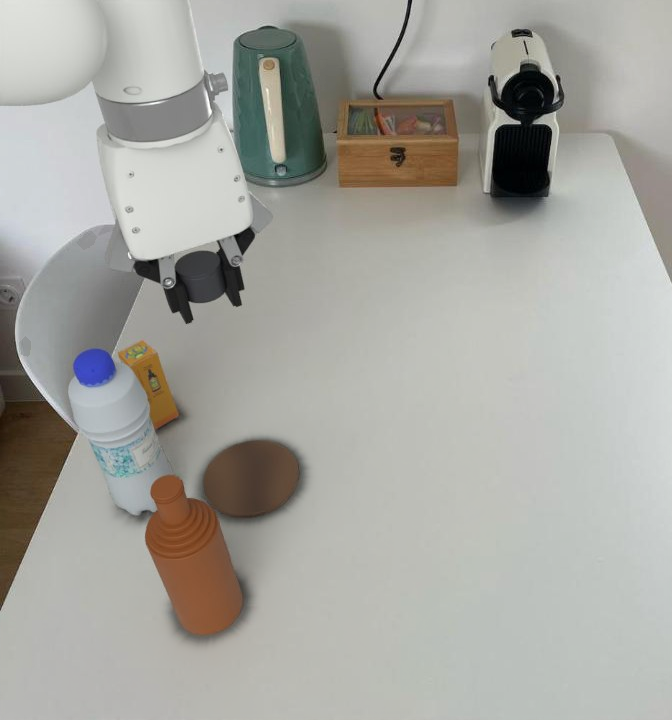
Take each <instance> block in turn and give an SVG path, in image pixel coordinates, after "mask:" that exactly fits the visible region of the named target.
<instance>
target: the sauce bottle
mask: <svg viewBox="0 0 672 720" xmlns="http://www.w3.org/2000/svg"><path fill="white" fill-rule="evenodd" d="M150 495H151V497H152V499H153V500H154V502H155V504H156V507H157V509H158V510H157V511H156V512H153V513H152V515H151V516H150V517H149V520H148V521H147V524H146V527H145V532H144V542H145V545H146V547H147V550H148V552H149V555H150V557H151V559H152V562H153V564H154V566H155V569H156V571H157V574H158V575H159V578H160V581H161V582H162V584H163V587H164V589H165V592H166V594H167V596H168V598H169V600H170V603H171V606H172V608H173V611H174V612H175V615H176V617H177V620H178V621H179V623H180V625H181V626H182V627H183V629H185V630H186V631H187V632H189V633H191V634H194V635H198V636H209V635H210V636H211V635H215V634H218V633H221V632H222V631H224V630H226V629H227V628H228V627H230V626H231V625H233V623H234V622H235V621H236V619H238V617H239V615H240V614H241V611H242V608H243V603H244V598H243V593H242V589H241V586H240V583H239V579H238V577H237V574H236V570H235V567H234V564H233V561H232V558H231V554H230V551H229V548H228V545H227V543H226V538H225V536H224V533H223V529H222V526H221V523H220V520H219V518H218V514H217V512H216V511H215V508H213V507H212V506H211V505H210V504H208V503H207V502H206V501H203V500H201V499H199V498H193V497H187V494H186V490H185V484H184V481H183V480H182V479H181V478H180V477H178V476H177V475H174V474H173V475H165V476H162V477H160V478H158V479H157V480H155V481H154V483H153V484H152V486H151V491H150Z"/></svg>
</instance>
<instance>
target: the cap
mask: <svg viewBox="0 0 672 720" xmlns="http://www.w3.org/2000/svg"><path fill="white" fill-rule="evenodd" d="M174 264H175V271H176V274H177V276H178V278H179V279H181V281H182V283H183V285H184V287H185V290H186V294H187V297H188V301H189V303H192V304H207V303H211V302H213V301H216V300H218V299H219V298H221V297H222V296H223V295H224V294H225V291H226V289H227V285H226V281H225V277H224V273H223V269H222V264H221V260H220V257H219V256H218V255H217V254H216V252H214V251H211V250H196V251H195V250H194V251H191V252H189V253H186V254H184V255H182V256H181V257H179V259H178V260H177V261H175V263H174Z"/></svg>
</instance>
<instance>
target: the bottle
mask: <svg viewBox="0 0 672 720" xmlns="http://www.w3.org/2000/svg"><path fill="white" fill-rule="evenodd" d="M72 365H73V366H72V367H73V369H72V370H73V373H74V376H73V377H72V378H71V380H70V382H69V385H68V388H67V395H68V398H69V403H70V407H71V411H72V417H73V420H74V422H75V423H76V424H75V425H77V426H78V430H79V431H80V433H81V434H82V435H83V436H84V437H85V438H87V440H88V442H89V444H90V447H91V449H92V450H93V453H94V456H95V458H96V460H97V462H98V464H99V467H100V469H101V470H102V474H103V476H104V480H105V483H106V486H107V489H108V491H109V494H110V496H111V498H112V500H113V502H114V504H115V505H116V506H117V507H118V508H120V509H123V510H125V511H127V512H128V513H129V514H130V515H132V516H136V517H137V516H138V517H139V516H140V515H142V513H143V512H144V511H150V512H152V513H155V512H156V511H157V510H158V509H157V507H156V504H155V502H154V500H153V499H152V497H151V495H150V491H151V486H152V484H153V483H154V481H155V480H157V479H158V478H160V477H162V476H165V475H174V474H173V470H172V468H171V465H170V463H169V461H168V459H167V457H166V455H165V453H164V451H163V449H162V446H161V444H160V443H161V442H160V441H159V438H158V435H157V433H156V430H155V429H154V427H153V424H152V421H151V419H150V416H149V413H150V405H149V402H148V400H147V394H146V392H145V390H144V389H143V387H142V386H141V384H140V382H139V380H138V379H137V377H136V375H135V373H134V372H133V370H132V369H131V368H130V367H129V366H127V365H126V364H124V363H121V361H115V360H114V359H113V357H112V355H111V354H110V353H109V352H108V351H107V350H105V349H102V348H89V349H86V350H83V351H82V352H80V353H79V354H78V355H77V356H76V357H75V359H74V361H73V364H72Z"/></svg>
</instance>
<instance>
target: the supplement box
mask: <svg viewBox="0 0 672 720" xmlns="http://www.w3.org/2000/svg"><path fill="white" fill-rule="evenodd" d="M117 356H118V358H119V362H121V363H124V364H126V365H127V366H129V367H130V368H131V369H132V370H133V372H134V373H135V375H136V377H137V379H138V380H139V382H140V384H141V386H142V387H143V389H144V390H145V392H146V394H147V400H148V402H149V405H150V413H149V416H150V419H151V421H152V424H153V427H154V430H155V431H156V430H157V429H160V428H161V427H162V426H164V425H166V424H167V423H169V422H171V421H173V420H175V419H177V418H179V416H180V413H179V411H178V408H177V406H176V403H175V401H174V397H173V394H172V392H171V389H170V386H169V383H168V380H167V377H166V374H165V371H164V369H163V365H162V362H161V361H160V357H159V353H158V351H157V350H155V349H154V348H152V347H151V346H150V345H149V344H148V343H147V342H146V341H145V340H144V339H142V340H140V341H138V342H136V343H134V344H132V345H130V346H128V347H126V348H124V349H122V350H121V351H119V352H117Z"/></svg>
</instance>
